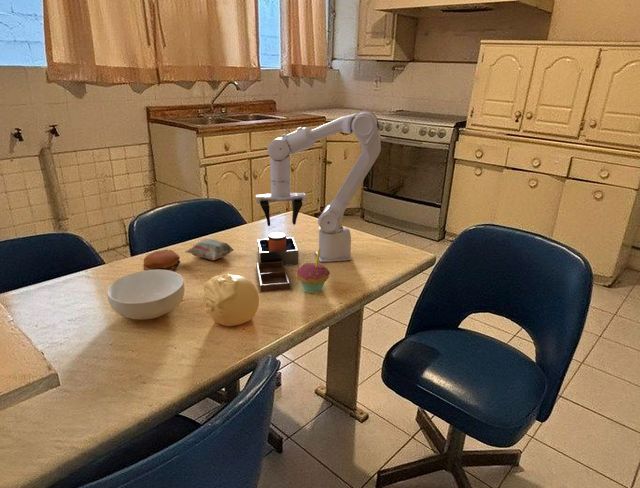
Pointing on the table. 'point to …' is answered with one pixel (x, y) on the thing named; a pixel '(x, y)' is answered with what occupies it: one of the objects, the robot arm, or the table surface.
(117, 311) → the cereal bowl
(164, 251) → the burger
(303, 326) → the table surface
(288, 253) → the basin
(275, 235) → the container
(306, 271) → the cupcake
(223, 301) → the sculpture
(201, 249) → the packaged food
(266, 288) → the tray
